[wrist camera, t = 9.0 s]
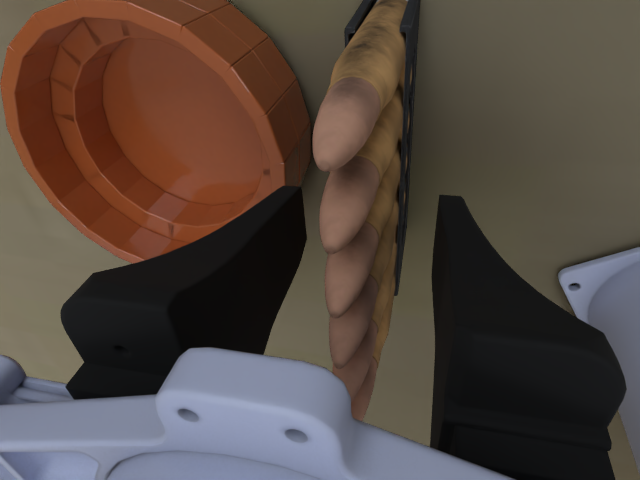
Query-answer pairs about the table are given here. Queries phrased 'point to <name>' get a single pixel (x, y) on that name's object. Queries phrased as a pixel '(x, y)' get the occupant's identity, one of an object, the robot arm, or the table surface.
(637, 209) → the table surface
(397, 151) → the ammunition clip
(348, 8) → the table surface
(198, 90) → the bowl
